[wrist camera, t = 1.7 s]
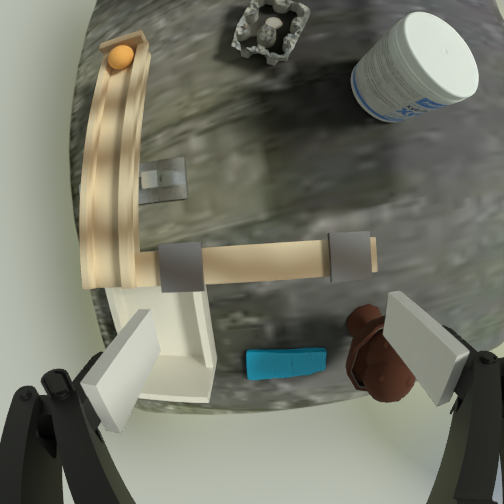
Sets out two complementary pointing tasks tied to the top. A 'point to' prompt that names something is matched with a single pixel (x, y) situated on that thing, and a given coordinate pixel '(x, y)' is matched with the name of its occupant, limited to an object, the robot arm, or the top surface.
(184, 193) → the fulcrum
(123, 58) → the ball
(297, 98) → the top surface
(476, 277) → the top surface
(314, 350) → the sponge
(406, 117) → the supplement tub
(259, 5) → the egg carton
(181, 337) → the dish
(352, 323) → the ice cream bowl
